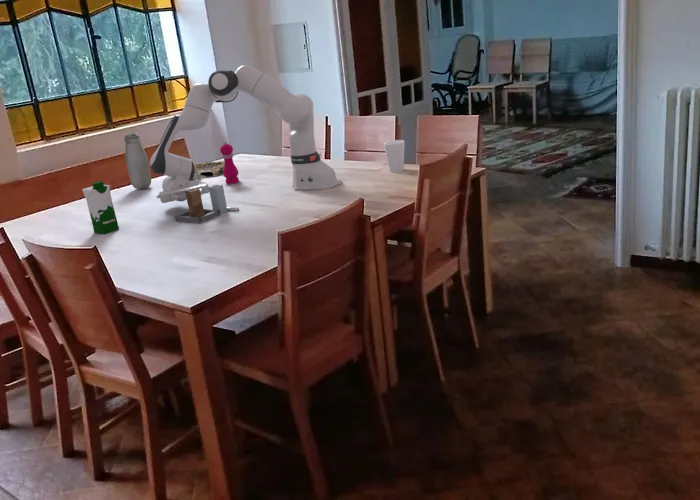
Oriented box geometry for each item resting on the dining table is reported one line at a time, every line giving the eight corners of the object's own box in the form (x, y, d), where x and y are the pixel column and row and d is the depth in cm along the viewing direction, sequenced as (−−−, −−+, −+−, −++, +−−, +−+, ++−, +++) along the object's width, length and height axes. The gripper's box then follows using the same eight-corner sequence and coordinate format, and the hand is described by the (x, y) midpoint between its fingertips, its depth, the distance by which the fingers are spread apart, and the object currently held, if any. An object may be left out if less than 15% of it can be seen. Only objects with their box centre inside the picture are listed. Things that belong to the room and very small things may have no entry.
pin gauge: (238, 207, 278) (235, 209, 277) (239, 210, 278) (237, 212, 277) (220, 205, 283) (218, 208, 282) (221, 209, 284) (219, 211, 283)
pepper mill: (238, 182, 329) (231, 141, 322) (223, 184, 329) (215, 143, 323) (241, 179, 335) (233, 138, 329) (226, 181, 336) (218, 140, 329)
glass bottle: (141, 191, 337) (128, 135, 328) (128, 190, 343) (115, 135, 335) (157, 186, 345) (145, 130, 336) (144, 185, 351) (132, 130, 342)
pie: (180, 174, 370) (179, 165, 368) (229, 164, 380) (228, 156, 379) (192, 182, 346) (190, 172, 344) (244, 172, 356) (243, 162, 354)
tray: (220, 215, 275) (219, 210, 274) (200, 223, 267) (199, 218, 266) (195, 213, 283) (194, 208, 282) (175, 221, 274) (174, 216, 274)
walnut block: (204, 215, 275) (199, 188, 271) (197, 218, 272) (191, 191, 268) (197, 215, 277) (192, 188, 274) (190, 217, 274) (184, 191, 271)
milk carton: (103, 235, 268) (90, 185, 262) (90, 233, 274) (78, 184, 267) (122, 228, 274) (110, 179, 268) (110, 226, 280) (98, 178, 274)
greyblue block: (227, 211, 280) (222, 184, 276) (220, 213, 277) (215, 187, 273) (220, 210, 282) (215, 184, 279) (213, 213, 279) (208, 186, 276)
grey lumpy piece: (199, 194, 333) (208, 175, 333) (192, 192, 325) (202, 173, 324) (183, 186, 334) (192, 167, 334) (176, 184, 326) (185, 165, 326)
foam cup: (384, 173, 308) (381, 145, 304) (389, 168, 316) (386, 140, 312) (404, 172, 305) (402, 143, 301) (409, 167, 314) (406, 139, 309)
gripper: (153, 188, 284) (162, 193, 272) (201, 178, 292) (211, 182, 281) (157, 203, 286) (165, 209, 274) (204, 192, 294) (214, 197, 283)
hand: (189, 195), depth 277 cm, fingers open, 8 cm apart
